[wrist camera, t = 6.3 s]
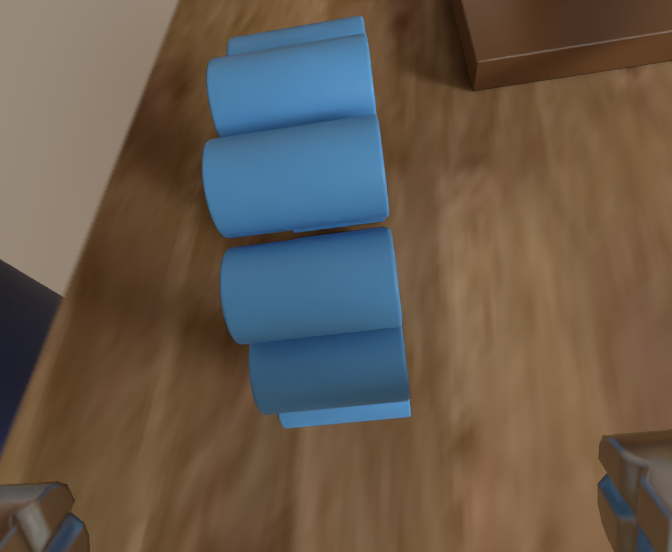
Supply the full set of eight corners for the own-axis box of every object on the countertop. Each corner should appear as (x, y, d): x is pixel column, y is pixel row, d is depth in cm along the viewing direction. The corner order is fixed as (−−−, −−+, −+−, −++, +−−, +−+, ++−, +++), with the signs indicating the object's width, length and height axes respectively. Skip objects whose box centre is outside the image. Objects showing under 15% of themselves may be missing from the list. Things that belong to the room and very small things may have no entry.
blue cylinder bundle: (412, 436, 15) (409, 347, 7) (311, 445, 15) (188, 371, 7) (379, 178, 19) (351, -79, 10) (299, 189, 19) (212, -52, 11)
